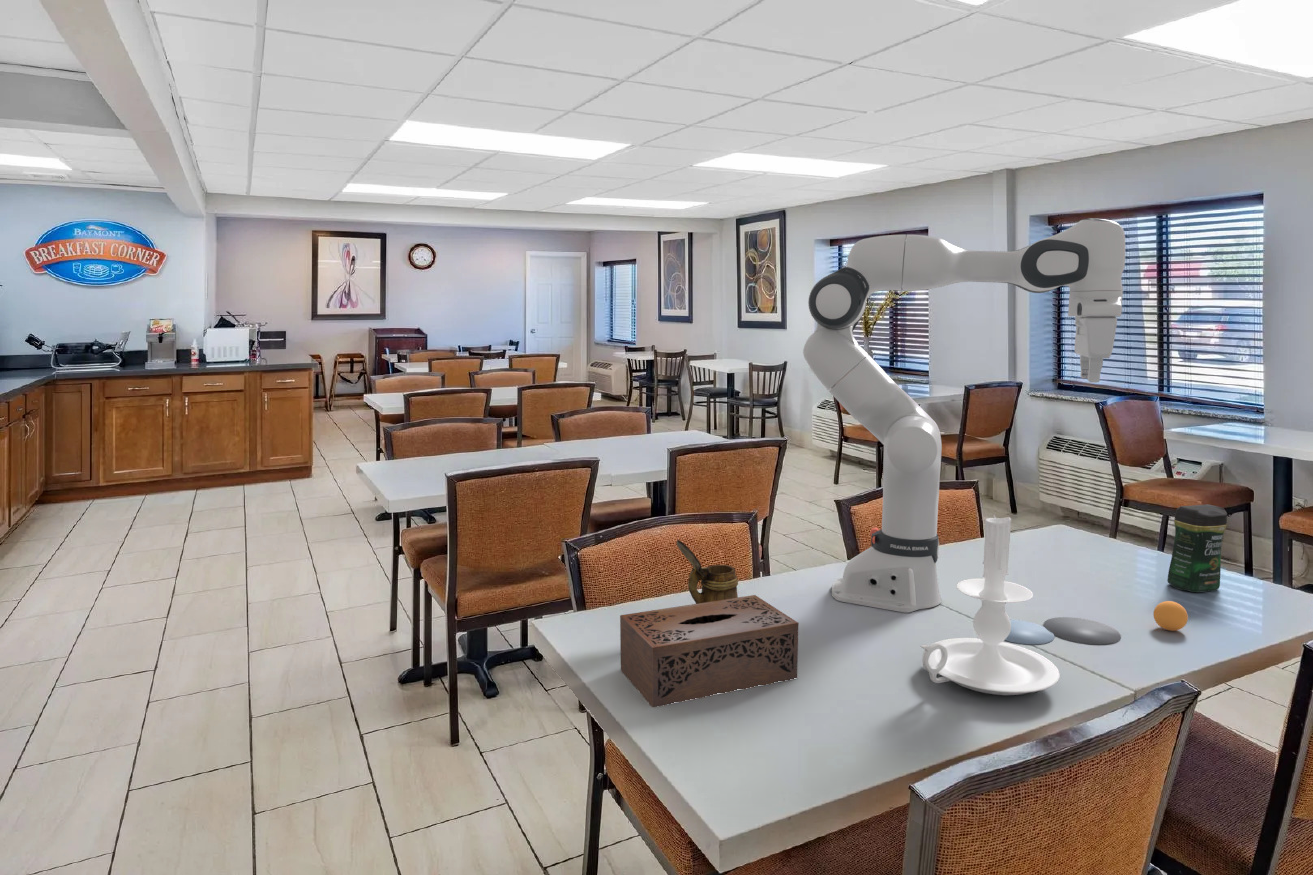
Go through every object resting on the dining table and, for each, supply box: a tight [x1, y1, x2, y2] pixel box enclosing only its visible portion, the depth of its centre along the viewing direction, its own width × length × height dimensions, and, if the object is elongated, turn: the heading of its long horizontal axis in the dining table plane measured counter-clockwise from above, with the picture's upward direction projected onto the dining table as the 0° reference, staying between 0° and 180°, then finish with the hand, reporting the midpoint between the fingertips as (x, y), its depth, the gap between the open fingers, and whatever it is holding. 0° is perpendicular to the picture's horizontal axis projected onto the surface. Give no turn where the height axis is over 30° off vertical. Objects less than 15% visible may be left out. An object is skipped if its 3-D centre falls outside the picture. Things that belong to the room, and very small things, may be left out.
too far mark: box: [1004, 618, 1055, 646], centre depth 152 cm, size 12×12×1 cm
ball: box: [1153, 600, 1189, 632], centre depth 152 cm, size 6×6×6 cm
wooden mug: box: [676, 539, 739, 604], centre depth 154 cm, size 9×14×18 cm, turn 112°
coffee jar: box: [1166, 503, 1228, 593], centre depth 175 cm, size 10×8×19 cm
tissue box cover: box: [619, 594, 799, 708], centre depth 133 cm, size 26×14×10 cm, turn 112°
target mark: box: [1042, 616, 1122, 646], centre depth 152 cm, size 13×13×1 cm
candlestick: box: [920, 514, 1061, 696], centre depth 129 cm, size 21×25×28 cm
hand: (1089, 380), depth 153 cm, fingers open, 8 cm apart
